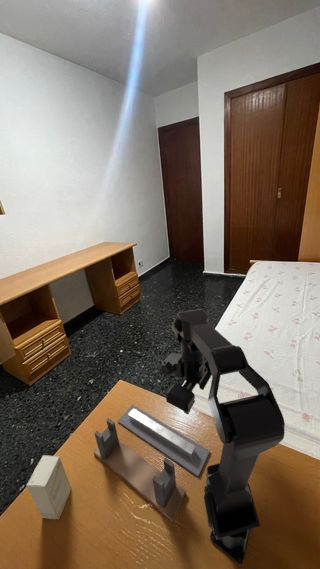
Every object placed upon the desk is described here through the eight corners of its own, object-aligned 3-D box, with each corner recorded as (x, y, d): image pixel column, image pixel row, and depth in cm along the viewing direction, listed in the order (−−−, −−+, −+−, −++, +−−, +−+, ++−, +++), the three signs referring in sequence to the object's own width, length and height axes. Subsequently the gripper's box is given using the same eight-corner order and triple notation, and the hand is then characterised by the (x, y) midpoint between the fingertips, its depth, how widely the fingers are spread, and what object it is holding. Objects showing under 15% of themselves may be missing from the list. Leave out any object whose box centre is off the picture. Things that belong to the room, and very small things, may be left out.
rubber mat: (209, 451, 62) (209, 450, 62) (198, 477, 57) (198, 475, 56) (132, 405, 77) (132, 404, 77) (117, 422, 72) (117, 420, 72)
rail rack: (185, 493, 54) (184, 467, 50) (172, 521, 49) (169, 495, 46) (109, 435, 68) (104, 412, 65) (94, 453, 64) (87, 430, 60)
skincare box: (59, 520, 51) (44, 488, 47) (41, 518, 52) (24, 486, 47) (72, 486, 57) (60, 455, 52) (55, 485, 58) (42, 454, 53)
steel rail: (195, 451, 62) (195, 446, 61) (191, 460, 60) (191, 454, 59) (134, 413, 74) (133, 408, 73) (129, 419, 72) (128, 414, 71)
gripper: (183, 328, 69) (185, 369, 75) (145, 367, 55) (151, 412, 61) (218, 339, 63) (217, 382, 68) (185, 385, 49) (188, 434, 55)
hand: (194, 400), depth 63 cm, fingers open, 9 cm apart
